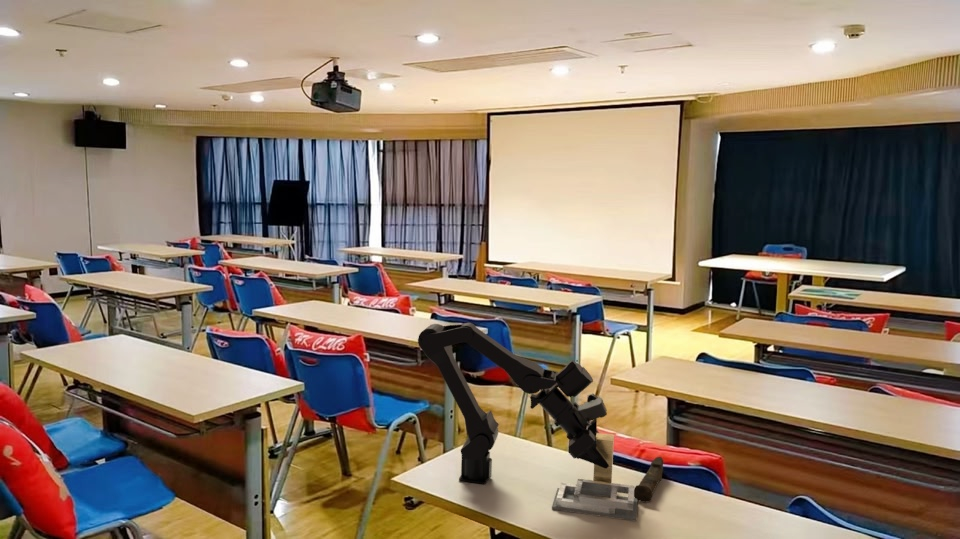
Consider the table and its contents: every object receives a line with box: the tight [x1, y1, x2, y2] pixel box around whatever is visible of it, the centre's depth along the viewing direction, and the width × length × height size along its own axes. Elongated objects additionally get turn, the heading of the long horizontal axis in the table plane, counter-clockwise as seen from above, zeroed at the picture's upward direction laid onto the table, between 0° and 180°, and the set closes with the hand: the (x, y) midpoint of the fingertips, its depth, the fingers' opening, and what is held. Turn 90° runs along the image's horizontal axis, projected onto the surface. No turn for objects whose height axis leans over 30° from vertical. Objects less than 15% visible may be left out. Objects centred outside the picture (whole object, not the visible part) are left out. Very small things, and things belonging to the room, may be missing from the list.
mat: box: [551, 487, 638, 522], centre depth 147 cm, size 18×10×1 cm, turn 76°
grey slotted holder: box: [556, 478, 635, 515], centre depth 147 cm, size 16×9×3 cm, turn 76°
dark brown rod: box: [634, 456, 664, 503], centre depth 157 cm, size 19×4×5 cm, turn 150°
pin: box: [592, 432, 615, 483], centre depth 154 cm, size 4×4×13 cm
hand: (607, 459), depth 154 cm, fingers open, 9 cm apart
